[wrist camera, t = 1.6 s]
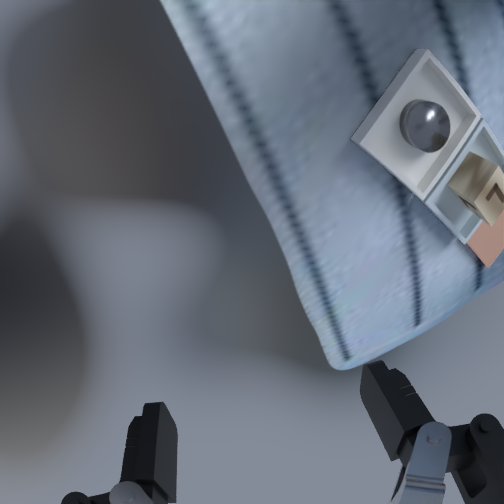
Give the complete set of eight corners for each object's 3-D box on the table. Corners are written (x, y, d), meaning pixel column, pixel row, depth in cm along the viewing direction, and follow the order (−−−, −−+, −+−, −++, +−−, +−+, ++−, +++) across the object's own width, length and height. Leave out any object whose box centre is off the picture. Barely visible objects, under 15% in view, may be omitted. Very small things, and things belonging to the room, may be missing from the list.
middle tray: (470, 114, 26) (483, 118, 24) (504, 165, 29) (515, 171, 27) (414, 195, 30) (424, 202, 29) (455, 236, 34) (464, 245, 32)
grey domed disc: (417, 89, 24) (428, 90, 22) (446, 121, 26) (457, 125, 24) (390, 126, 26) (400, 130, 24) (421, 157, 28) (432, 162, 26)
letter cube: (469, 151, 27) (499, 165, 23) (487, 176, 29) (514, 193, 25) (446, 184, 29) (473, 203, 25) (465, 208, 31) (491, 227, 27)
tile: (504, 171, 29) (509, 174, 29) (524, 208, 33) (528, 211, 32) (459, 235, 34) (463, 239, 33) (484, 264, 37) (488, 268, 36)
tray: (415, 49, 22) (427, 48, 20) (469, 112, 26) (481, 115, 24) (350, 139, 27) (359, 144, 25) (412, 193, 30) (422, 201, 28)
